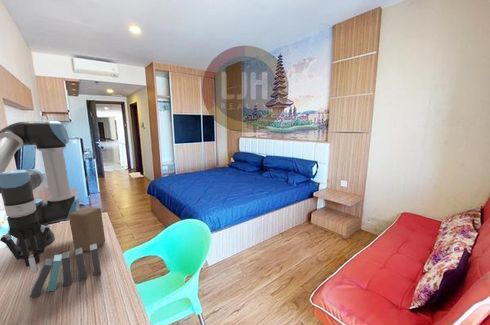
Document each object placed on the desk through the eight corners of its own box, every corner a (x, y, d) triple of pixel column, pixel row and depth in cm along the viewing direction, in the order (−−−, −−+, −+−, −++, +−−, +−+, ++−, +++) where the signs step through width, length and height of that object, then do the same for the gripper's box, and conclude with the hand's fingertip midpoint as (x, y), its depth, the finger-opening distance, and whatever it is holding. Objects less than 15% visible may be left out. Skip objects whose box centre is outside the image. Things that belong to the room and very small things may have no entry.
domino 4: (79, 274, 93) (74, 249, 91) (86, 272, 94) (82, 247, 92) (79, 281, 89) (74, 255, 87) (87, 278, 91) (82, 252, 88)
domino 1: (31, 288, 84) (45, 258, 85) (39, 288, 85) (53, 259, 87) (29, 296, 80) (44, 265, 81) (38, 296, 82) (52, 265, 83)
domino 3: (64, 279, 90) (61, 252, 88) (71, 277, 91) (69, 251, 90) (63, 286, 86) (61, 259, 84) (71, 284, 88) (69, 256, 86)
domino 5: (93, 269, 96) (89, 245, 94) (100, 267, 98) (96, 243, 95) (94, 276, 92) (90, 250, 90) (101, 273, 94) (97, 248, 91)
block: (90, 252, 109) (84, 215, 105) (73, 250, 111) (67, 213, 107) (106, 241, 118) (101, 207, 114) (91, 240, 120) (85, 206, 116)
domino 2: (48, 284, 87) (54, 255, 87) (56, 282, 88) (62, 254, 88) (47, 291, 83) (53, 261, 83) (55, 290, 85) (61, 260, 84)
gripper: (-9, 222, 71) (7, 285, 75) (45, 212, 78) (57, 269, 83) (-2, 214, 76) (12, 274, 81) (47, 205, 84) (58, 260, 89)
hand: (35, 271), depth 82 cm, fingers closed
